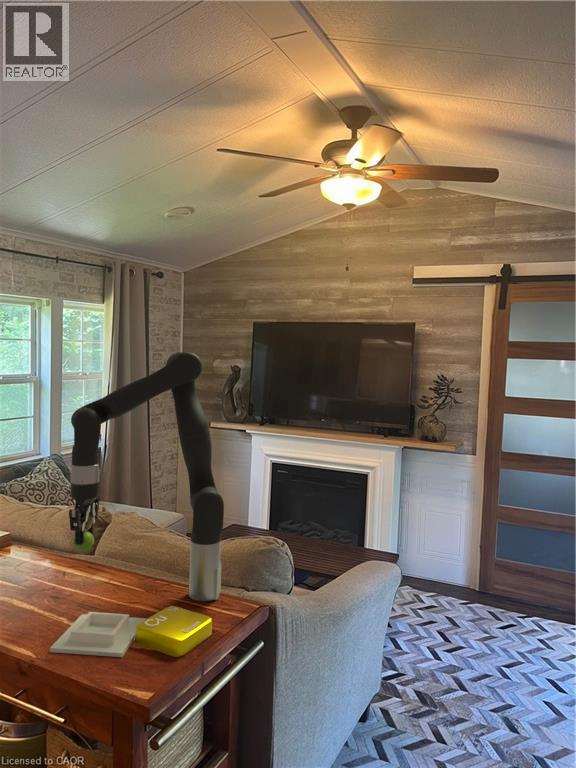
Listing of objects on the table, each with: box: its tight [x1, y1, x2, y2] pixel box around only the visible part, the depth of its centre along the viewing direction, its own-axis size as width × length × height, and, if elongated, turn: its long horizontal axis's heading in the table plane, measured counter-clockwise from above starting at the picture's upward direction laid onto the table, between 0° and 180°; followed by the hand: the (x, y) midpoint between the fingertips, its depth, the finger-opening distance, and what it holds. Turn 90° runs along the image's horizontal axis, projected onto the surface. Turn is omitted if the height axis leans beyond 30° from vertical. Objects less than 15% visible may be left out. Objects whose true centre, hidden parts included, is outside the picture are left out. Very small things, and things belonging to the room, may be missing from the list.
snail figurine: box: [72, 507, 95, 552], centre depth 152 cm, size 5×6×12 cm
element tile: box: [135, 605, 213, 658], centre depth 142 cm, size 15×15×5 cm
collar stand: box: [49, 611, 147, 658], centre depth 141 cm, size 18×18×4 cm
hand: (84, 540), depth 151 cm, fingers closed on snail figurine, 5 cm apart
